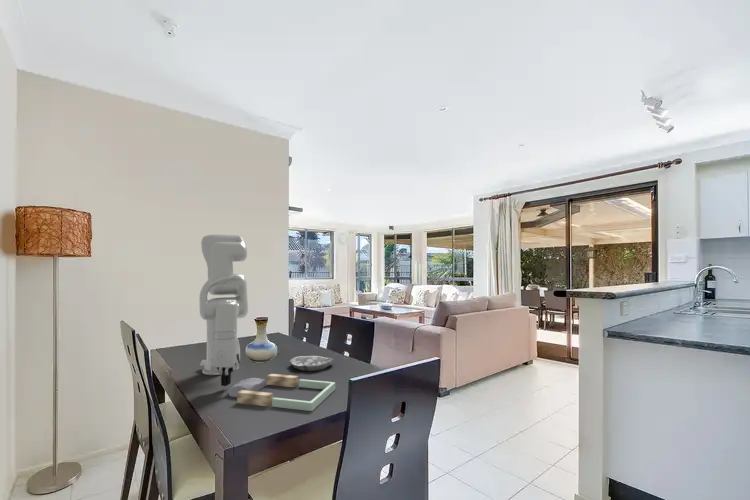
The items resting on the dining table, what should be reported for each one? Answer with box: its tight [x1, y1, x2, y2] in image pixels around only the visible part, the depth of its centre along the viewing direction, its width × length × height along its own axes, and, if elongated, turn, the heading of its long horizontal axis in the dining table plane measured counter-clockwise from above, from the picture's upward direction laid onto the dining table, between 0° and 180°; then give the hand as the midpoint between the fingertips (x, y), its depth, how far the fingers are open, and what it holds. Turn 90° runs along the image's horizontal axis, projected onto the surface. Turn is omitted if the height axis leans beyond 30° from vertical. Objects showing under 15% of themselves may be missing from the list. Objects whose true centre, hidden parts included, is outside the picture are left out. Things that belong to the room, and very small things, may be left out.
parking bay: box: [271, 378, 336, 412], centre depth 126 cm, size 14×20×2 cm
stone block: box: [227, 377, 266, 398], centre depth 132 cm, size 12×5×10 cm
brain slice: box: [289, 355, 335, 372], centre depth 162 cm, size 20×17×3 cm
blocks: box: [236, 373, 300, 407], centre depth 129 cm, size 12×21×4 cm, turn 165°
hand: (225, 384), depth 134 cm, fingers closed
